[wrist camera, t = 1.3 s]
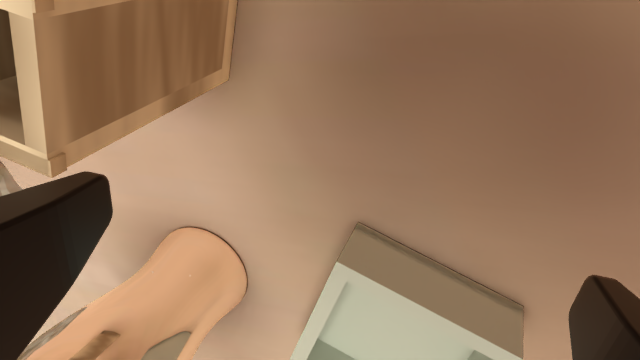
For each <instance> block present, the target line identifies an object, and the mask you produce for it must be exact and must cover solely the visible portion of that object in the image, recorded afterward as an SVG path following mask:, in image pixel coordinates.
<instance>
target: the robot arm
mask: <svg viewBox="0 0 640 360" xmlns="http://www.w3.org/2000/svg"><path fill="white" fill-rule="evenodd" d="M112 213H113V209H112V201H111V194H110V186H109V181H108V179H107V177H106V176H104V175H102V174H97V173H92V172H81V173H77V174H74V175H71V176H67V177H64V178H61V179H57V180H54V181H51V182H47V183H44V184H41V185H37V186H34V187H30V188H27V189H24V190H20V191H17V192H14V193H10V194H7V195H4V196H0V360H17V359H18V358H19V356H20V355H21V354H22V352H23V351H24V350H25V348H26V347H27V346H28V344H29V343H30V342H31V340H32V339H33V338H34V336H35V335H36V334H37V332H38V331H39V330H40V328H41V327H42V326H43V324H44V323H45V322H46V320H47V319H48V318H49V316H50V315H51V314H52V312H53V311H54V310H55V308H56V307H57V306H58V304H59V303H60V301H61V300H62V299H63V297H64V296H65V295H66V293H67V292H68V291H69V289H70V288H71V286H72V285H73V283H74V282H75V280H76V279H77V277H78V276H79V274H80V272H81V271H82V269H83V267H84V266H85V264H86V262H87V260H88V259H89V257H90V255H91V254H92V252H93V250H94V249H95V247H96V245H97V244H98V242H99V240H100V238H101V237H102V235H103V233H104V232H105V230H106V228H107V227H108V225H109V223H110V221H111V218H112ZM569 328H570V338H571V348H572V357H573V360H640V299H639V298H638V297H636V296H635V295H634V294H633V293H632V292H630V291H629V290H628V289H627V288H626V287H624V286H623V285H622V284H621V283H620V282H618V281H617V280H615V279H612V278H607V277H602V276H597V275H591V276H589V277H588V278H587V279H586V280H585V281H584V283H583V285H582V287H581V289H580V291H579V293H578V295H577V297H576V299H575V301H574V302H573V304H572V306H571V309H570V312H569Z"/></svg>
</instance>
